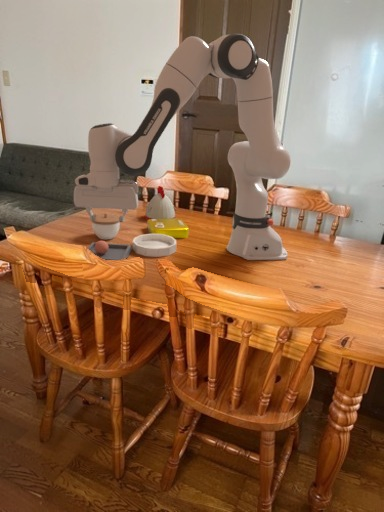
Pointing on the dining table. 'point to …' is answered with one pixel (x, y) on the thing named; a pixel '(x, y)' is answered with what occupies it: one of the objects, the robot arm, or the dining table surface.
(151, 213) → the white chicken figure
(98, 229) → the lidded jar
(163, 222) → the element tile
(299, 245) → the dining table surface
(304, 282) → the dining table surface
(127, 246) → the tray
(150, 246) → the white round dish
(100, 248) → the ball
